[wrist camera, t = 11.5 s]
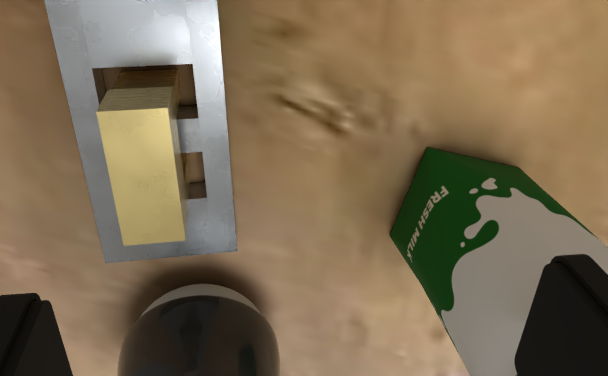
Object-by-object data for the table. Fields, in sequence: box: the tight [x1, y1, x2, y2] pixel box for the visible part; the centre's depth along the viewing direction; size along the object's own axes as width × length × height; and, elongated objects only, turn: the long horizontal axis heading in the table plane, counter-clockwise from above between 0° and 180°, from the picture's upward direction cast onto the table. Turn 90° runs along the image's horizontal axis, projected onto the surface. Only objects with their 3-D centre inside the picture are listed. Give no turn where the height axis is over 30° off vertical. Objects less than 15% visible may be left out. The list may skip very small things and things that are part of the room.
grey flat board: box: [44, 0, 237, 263], centre depth 27 cm, size 26×8×2 cm, turn 0°
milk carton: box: [390, 147, 608, 376], centre depth 28 cm, size 9×9×20 cm
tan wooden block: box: [96, 69, 190, 246], centre depth 28 cm, size 7×3×7 cm, turn 0°
